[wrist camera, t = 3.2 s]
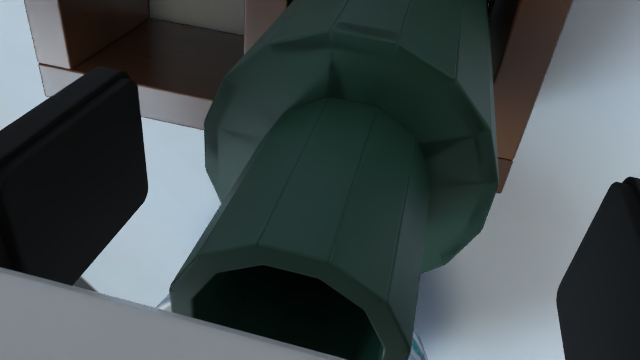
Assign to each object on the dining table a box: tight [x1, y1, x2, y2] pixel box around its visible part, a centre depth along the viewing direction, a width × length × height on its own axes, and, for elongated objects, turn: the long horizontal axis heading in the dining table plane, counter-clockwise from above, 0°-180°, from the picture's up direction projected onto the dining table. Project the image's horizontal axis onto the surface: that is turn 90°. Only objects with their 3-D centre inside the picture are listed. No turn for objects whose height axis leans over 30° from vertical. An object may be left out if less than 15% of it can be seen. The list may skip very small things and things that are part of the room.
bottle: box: [169, 0, 499, 360], centre depth 14 cm, size 6×6×18 cm
